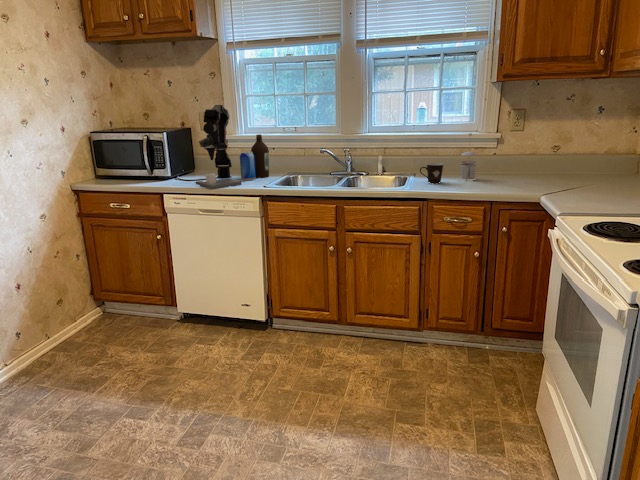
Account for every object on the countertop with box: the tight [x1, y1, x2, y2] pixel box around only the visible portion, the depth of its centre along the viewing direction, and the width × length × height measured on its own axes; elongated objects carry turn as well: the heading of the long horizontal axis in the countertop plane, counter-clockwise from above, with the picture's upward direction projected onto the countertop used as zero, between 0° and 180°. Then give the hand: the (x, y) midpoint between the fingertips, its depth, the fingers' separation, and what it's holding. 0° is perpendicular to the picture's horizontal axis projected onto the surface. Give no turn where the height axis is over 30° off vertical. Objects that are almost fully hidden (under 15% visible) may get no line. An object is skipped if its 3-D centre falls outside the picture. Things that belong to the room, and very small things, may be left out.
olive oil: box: [250, 134, 270, 179], centre depth 287 cm, size 11×11×25 cm
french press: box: [459, 133, 477, 180], centre depth 260 cm, size 10×12×25 cm
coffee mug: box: [419, 162, 444, 184], centre depth 257 cm, size 12×9×10 cm
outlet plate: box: [199, 177, 242, 190], centre depth 265 cm, size 18×14×2 cm
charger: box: [205, 172, 217, 184], centre depth 264 cm, size 4×4×6 cm
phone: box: [195, 180, 205, 186], centre depth 271 cm, size 4×7×1 cm, turn 40°
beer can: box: [239, 151, 256, 182], centre depth 280 cm, size 8×8×16 cm
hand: (215, 160), depth 271 cm, fingers open, 9 cm apart
